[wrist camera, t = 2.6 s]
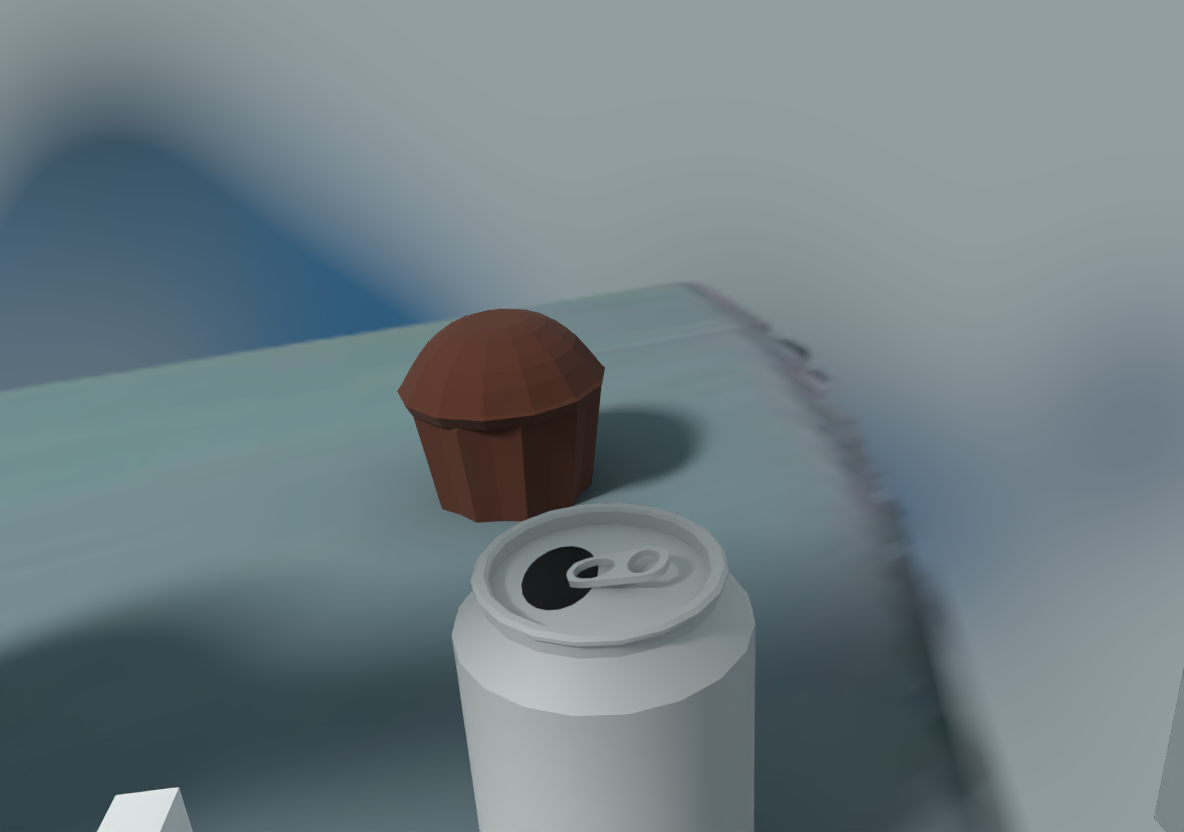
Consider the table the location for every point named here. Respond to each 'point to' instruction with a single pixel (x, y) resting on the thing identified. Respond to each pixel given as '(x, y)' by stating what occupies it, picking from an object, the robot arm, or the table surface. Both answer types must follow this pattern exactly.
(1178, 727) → the robot arm
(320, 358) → the table surface
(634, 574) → the can
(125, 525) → the table surface
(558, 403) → the muffin
